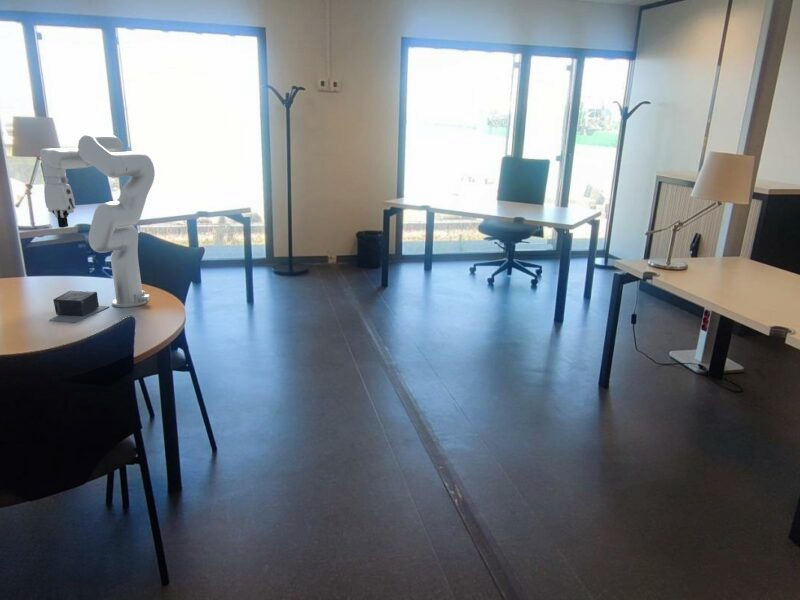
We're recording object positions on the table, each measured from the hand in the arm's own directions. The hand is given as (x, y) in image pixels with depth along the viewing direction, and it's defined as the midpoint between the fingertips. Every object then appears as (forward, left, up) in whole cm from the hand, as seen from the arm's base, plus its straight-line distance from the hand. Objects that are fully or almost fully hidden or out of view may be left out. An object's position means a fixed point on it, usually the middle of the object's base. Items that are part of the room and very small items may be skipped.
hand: (63, 226), depth 221 cm
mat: (-23, +24, -27) cm, 43 cm away
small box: (-16, +24, -24) cm, 37 cm away
